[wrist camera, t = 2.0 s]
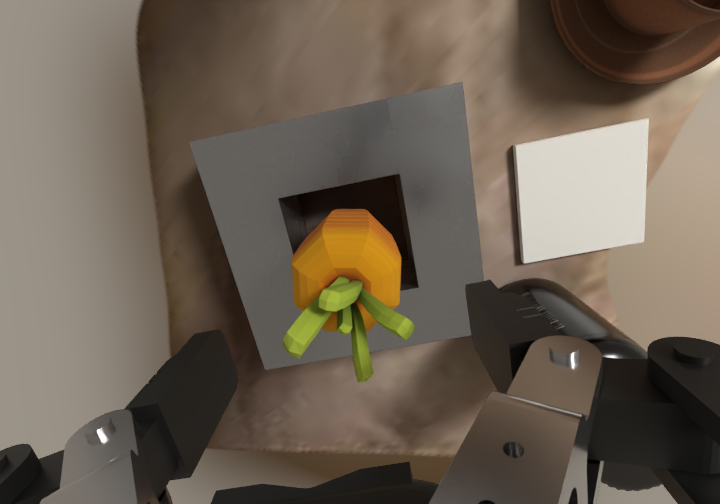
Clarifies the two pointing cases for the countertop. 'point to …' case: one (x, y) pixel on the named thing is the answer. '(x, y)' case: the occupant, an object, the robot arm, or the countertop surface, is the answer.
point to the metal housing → (340, 167)
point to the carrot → (347, 285)
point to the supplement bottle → (611, 342)
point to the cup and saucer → (640, 36)
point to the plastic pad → (581, 191)
